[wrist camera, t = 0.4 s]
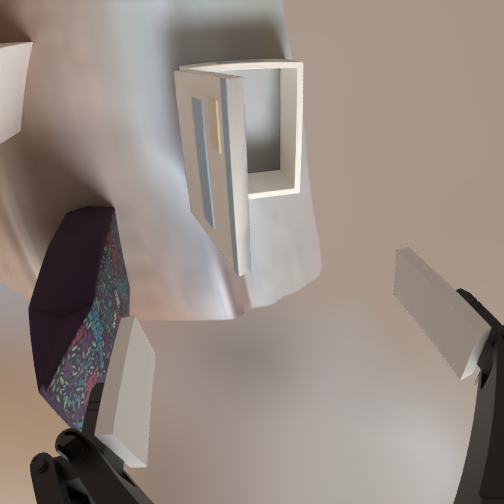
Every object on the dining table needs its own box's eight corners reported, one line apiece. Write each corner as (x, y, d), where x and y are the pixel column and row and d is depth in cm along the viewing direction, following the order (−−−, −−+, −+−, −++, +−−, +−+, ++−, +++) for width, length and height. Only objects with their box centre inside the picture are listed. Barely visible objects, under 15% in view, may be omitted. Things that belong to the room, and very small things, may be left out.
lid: (251, 271, 28) (237, 277, 28) (200, 208, 37) (189, 211, 37) (243, 77, 18) (223, 79, 18) (185, 68, 27) (172, 70, 27)
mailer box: (284, 173, 44) (299, 192, 40) (192, 185, 42) (195, 207, 38) (285, 58, 34) (303, 61, 30) (179, 65, 32) (179, 68, 28)
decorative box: (87, 293, 49) (69, 452, 27) (63, 208, 39) (-2, 383, 18) (132, 290, 51) (132, 453, 29) (116, 202, 41) (83, 388, 19)
